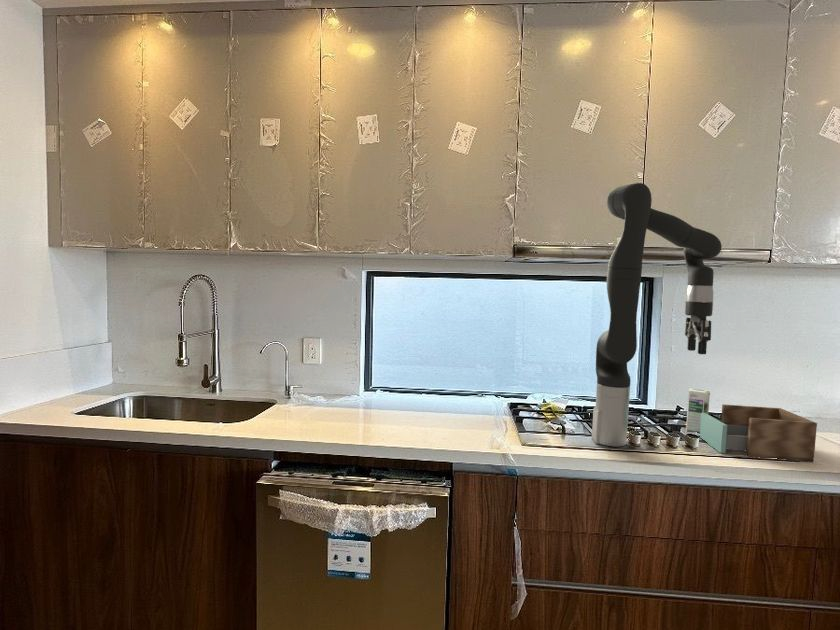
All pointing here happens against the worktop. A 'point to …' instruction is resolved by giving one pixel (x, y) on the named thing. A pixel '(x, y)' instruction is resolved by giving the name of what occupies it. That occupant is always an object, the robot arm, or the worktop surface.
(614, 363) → the robot arm
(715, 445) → the mint green drawer
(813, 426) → the wooden storage crate
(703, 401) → the syrup box
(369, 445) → the worktop surface
